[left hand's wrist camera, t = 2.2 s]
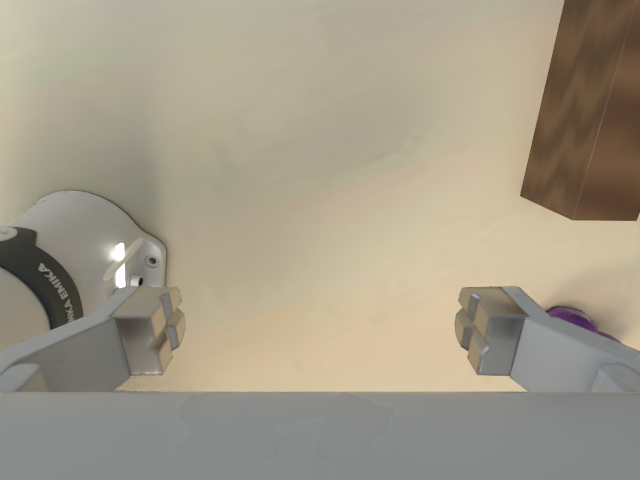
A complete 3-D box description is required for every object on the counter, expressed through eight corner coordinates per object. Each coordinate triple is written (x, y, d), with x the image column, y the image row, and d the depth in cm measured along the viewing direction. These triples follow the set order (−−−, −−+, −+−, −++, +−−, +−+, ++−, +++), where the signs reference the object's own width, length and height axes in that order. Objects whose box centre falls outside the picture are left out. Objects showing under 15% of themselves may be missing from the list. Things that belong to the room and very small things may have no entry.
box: (571, 196, 40) (636, 221, 32) (519, 196, 40) (572, 220, 32) (656, -103, 30) (783, -179, 22) (588, -105, 30) (690, -182, 22)
